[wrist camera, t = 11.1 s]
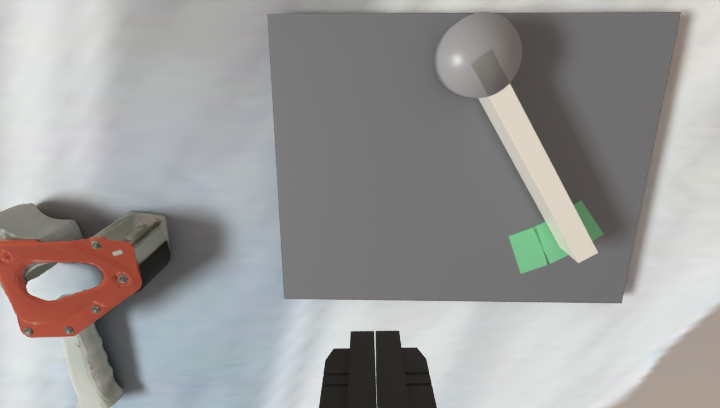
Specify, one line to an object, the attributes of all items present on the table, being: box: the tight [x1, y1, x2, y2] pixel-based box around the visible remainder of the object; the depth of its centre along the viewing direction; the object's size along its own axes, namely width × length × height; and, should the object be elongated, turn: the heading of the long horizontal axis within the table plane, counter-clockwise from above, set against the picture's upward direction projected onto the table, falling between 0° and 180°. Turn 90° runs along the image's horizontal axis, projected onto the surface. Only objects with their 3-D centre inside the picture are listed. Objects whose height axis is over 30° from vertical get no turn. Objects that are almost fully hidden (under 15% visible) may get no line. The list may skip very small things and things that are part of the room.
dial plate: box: [268, 12, 681, 303], centre depth 31 cm, size 22×28×2 cm
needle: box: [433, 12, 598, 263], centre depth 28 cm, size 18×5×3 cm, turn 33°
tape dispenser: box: [0, 203, 170, 408], centre depth 34 cm, size 18×5×20 cm
